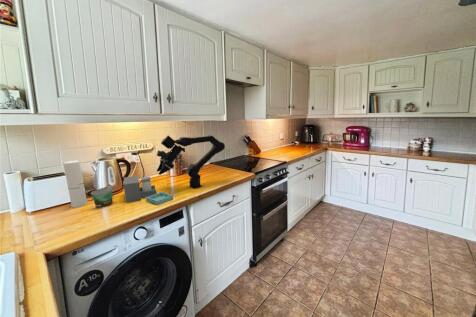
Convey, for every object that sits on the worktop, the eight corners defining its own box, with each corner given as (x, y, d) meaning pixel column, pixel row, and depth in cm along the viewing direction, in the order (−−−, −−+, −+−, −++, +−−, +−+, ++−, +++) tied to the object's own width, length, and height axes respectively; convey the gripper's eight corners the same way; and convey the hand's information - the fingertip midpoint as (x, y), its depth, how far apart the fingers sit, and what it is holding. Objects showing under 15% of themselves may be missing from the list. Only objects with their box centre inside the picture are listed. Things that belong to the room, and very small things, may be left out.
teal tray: (162, 195, 133) (161, 191, 133) (173, 199, 127) (172, 195, 127) (146, 201, 125) (146, 197, 124) (157, 205, 119) (157, 201, 118)
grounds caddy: (151, 192, 139) (149, 176, 137) (152, 195, 135) (150, 178, 133) (143, 194, 137) (141, 177, 135) (143, 196, 133) (141, 179, 131)
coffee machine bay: (154, 189, 145) (153, 173, 143) (157, 197, 131) (155, 179, 129) (126, 194, 138) (124, 177, 136) (126, 202, 124) (123, 184, 122)
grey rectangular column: (90, 203, 125) (82, 160, 120) (77, 208, 118) (69, 163, 114) (81, 201, 127) (73, 160, 122) (68, 206, 121) (60, 163, 116)
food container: (103, 209, 116) (100, 191, 114) (93, 208, 117) (90, 191, 115) (120, 200, 127) (117, 184, 125) (110, 200, 129) (108, 184, 127)
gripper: (161, 144, 143) (146, 162, 141) (166, 147, 127) (148, 168, 125) (175, 154, 148) (160, 172, 146) (180, 158, 132) (164, 179, 130)
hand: (158, 172), depth 136 cm, fingers open, 9 cm apart
